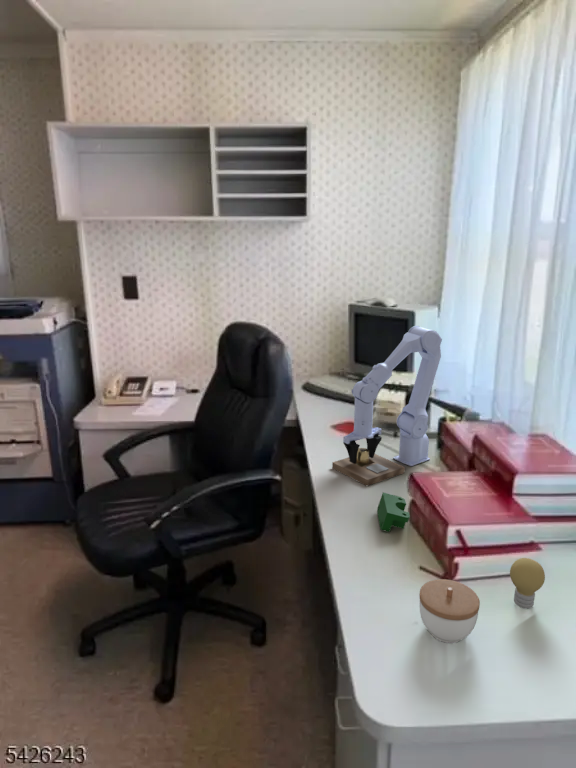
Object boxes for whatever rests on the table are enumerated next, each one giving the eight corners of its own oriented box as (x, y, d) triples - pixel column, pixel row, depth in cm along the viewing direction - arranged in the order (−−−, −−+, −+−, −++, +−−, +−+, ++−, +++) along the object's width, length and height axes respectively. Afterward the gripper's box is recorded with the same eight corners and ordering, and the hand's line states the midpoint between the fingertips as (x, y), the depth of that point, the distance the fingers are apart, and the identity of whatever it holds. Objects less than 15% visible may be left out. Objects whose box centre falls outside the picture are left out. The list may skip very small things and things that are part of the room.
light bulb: (512, 590, 116) (517, 548, 113) (544, 603, 112) (550, 559, 109) (501, 606, 111) (507, 562, 108) (535, 619, 107) (541, 574, 104)
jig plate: (368, 456, 185) (369, 450, 184) (404, 472, 172) (404, 466, 172) (332, 468, 176) (332, 461, 175) (367, 486, 163) (367, 478, 163)
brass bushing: (361, 464, 179) (362, 446, 177) (371, 468, 176) (371, 450, 174) (353, 467, 177) (353, 449, 175) (362, 471, 174) (363, 453, 172)
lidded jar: (435, 605, 111) (438, 564, 109) (486, 631, 104) (490, 588, 101) (406, 632, 104) (409, 589, 101) (458, 661, 96) (463, 616, 94)
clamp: (398, 545, 140) (410, 524, 135) (376, 539, 140) (387, 518, 135) (398, 508, 150) (410, 487, 144) (377, 503, 150) (387, 481, 144)
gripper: (354, 427, 165) (353, 469, 169) (389, 418, 173) (387, 458, 177) (339, 421, 171) (338, 461, 174) (373, 412, 179) (371, 451, 182)
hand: (361, 459), depth 176 cm, fingers open, 7 cm apart
